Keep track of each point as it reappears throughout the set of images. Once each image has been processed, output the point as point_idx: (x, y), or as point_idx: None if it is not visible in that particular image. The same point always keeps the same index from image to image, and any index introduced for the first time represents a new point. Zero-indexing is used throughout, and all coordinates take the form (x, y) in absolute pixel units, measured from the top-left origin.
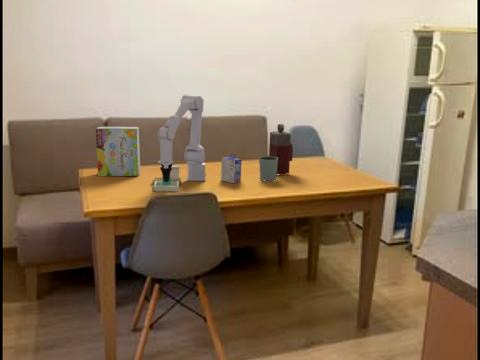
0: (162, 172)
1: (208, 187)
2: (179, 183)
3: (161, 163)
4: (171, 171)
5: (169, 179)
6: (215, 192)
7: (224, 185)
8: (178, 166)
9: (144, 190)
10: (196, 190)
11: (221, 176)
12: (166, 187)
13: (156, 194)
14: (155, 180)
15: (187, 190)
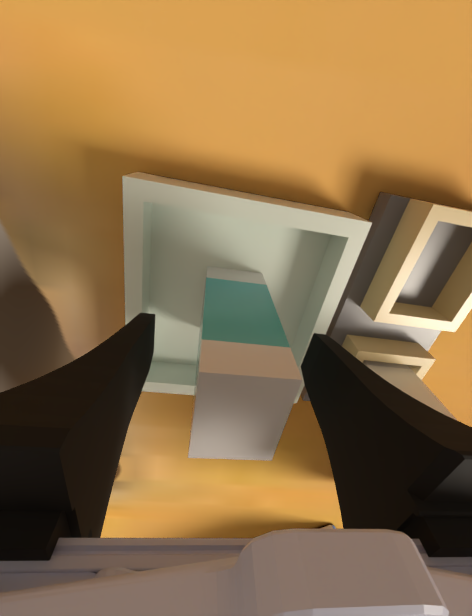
0: (38, 384)
1: (215, 485)
2: (305, 391)
3: (90, 601)
4: None
5: (196, 370)
6: (114, 498)
7: (240, 525)
8: None
9: (189, 52)
10: (158, 443)
11: None
12: (127, 302)
13: (17, 182)
14: (412, 231)
15: (161, 407)
